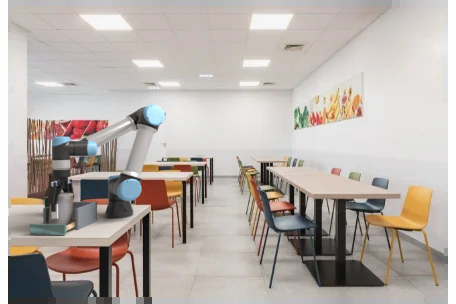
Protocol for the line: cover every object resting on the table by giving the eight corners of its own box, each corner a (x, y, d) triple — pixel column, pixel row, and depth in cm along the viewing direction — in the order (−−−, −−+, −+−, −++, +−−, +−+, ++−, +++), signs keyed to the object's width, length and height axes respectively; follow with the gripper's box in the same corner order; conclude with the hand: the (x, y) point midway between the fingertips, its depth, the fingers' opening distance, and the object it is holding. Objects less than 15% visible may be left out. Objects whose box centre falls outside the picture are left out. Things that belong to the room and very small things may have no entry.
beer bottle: (42, 216, 168) (41, 174, 168) (46, 213, 175) (46, 173, 175) (57, 215, 170) (57, 173, 170) (61, 213, 178) (61, 172, 177)
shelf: (55, 224, 149) (55, 215, 149) (86, 224, 148) (86, 215, 148) (29, 234, 131) (29, 224, 131) (64, 234, 130) (64, 224, 130)
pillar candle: (62, 219, 148) (63, 189, 147) (76, 221, 144) (78, 191, 144) (43, 223, 139) (45, 191, 138) (58, 226, 135) (60, 193, 135)
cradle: (66, 220, 159) (66, 201, 159) (97, 220, 158) (96, 201, 158) (43, 229, 141) (43, 208, 141) (78, 229, 140) (77, 208, 140)
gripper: (67, 167, 152) (68, 211, 153) (37, 170, 130) (37, 221, 130) (81, 167, 152) (82, 211, 152) (53, 170, 130) (54, 221, 130)
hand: (61, 216), depth 141 cm, fingers closed on pillar candle, 10 cm apart
